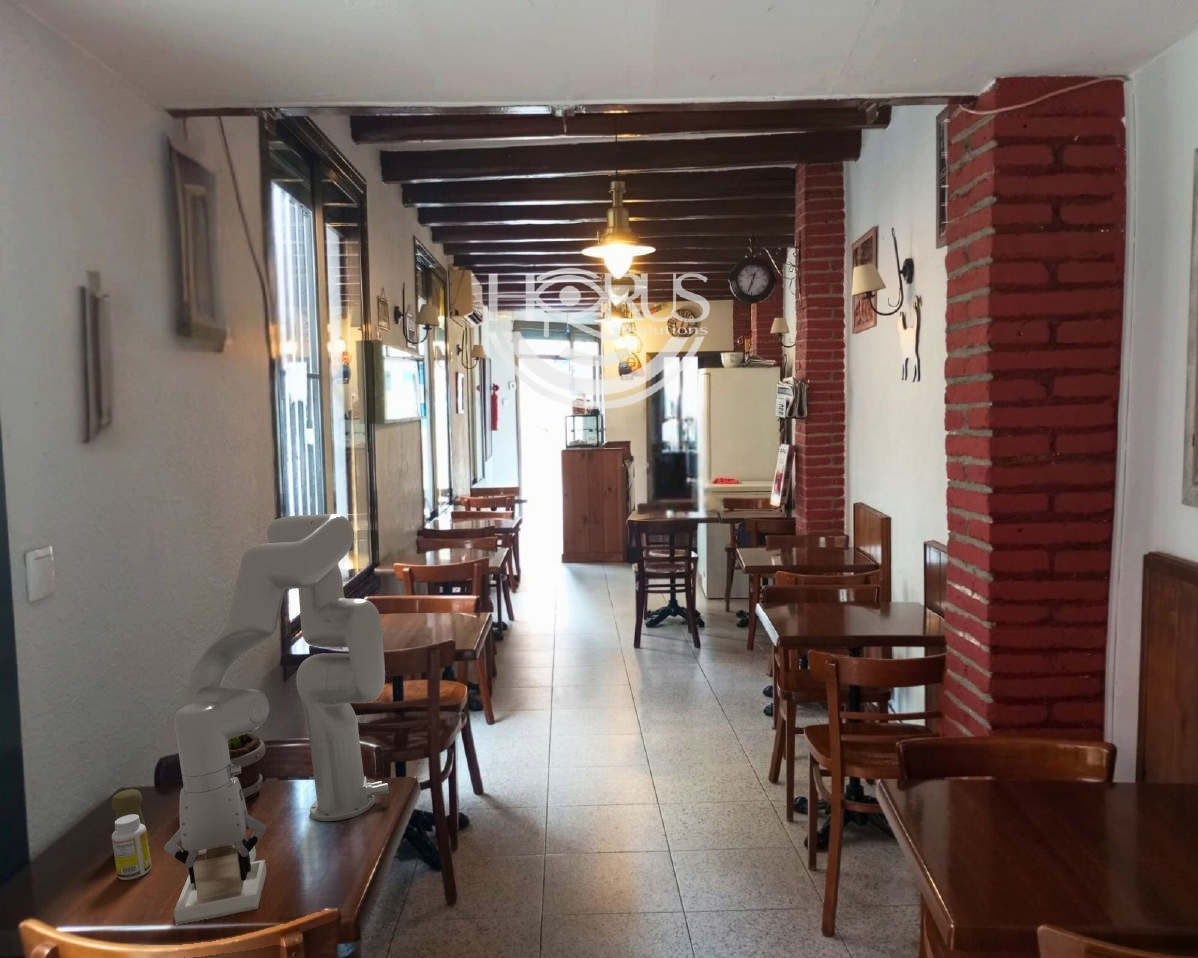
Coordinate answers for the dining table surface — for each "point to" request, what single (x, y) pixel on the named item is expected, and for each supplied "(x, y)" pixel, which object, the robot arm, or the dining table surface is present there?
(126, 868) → the supplement bottle
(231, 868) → the maple block
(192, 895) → the tray
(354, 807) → the robot arm
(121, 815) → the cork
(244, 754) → the flowerpot
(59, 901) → the dining table surface
